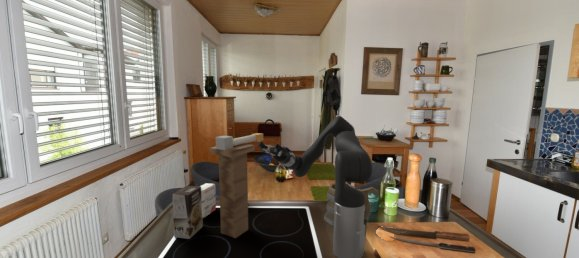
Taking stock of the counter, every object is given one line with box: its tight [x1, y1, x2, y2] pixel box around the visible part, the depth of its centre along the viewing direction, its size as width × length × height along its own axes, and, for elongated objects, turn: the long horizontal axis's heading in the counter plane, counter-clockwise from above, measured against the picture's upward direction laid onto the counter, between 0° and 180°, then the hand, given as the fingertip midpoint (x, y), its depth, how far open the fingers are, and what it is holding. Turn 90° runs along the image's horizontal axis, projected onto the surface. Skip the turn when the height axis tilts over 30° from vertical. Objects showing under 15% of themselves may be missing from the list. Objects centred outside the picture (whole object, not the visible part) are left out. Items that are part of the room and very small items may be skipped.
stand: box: [209, 143, 256, 239], centre depth 96 cm, size 10×12×32 cm
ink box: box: [199, 182, 217, 219], centre depth 112 cm, size 8×5×12 cm, turn 160°
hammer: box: [215, 132, 264, 150], centre depth 98 cm, size 22×4×4 cm, turn 149°
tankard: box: [323, 182, 379, 227], centre depth 105 cm, size 20×13×15 cm, turn 73°
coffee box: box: [171, 185, 204, 240], centre depth 97 cm, size 9×6×16 cm
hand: (267, 144), depth 112 cm, fingers open, 8 cm apart
